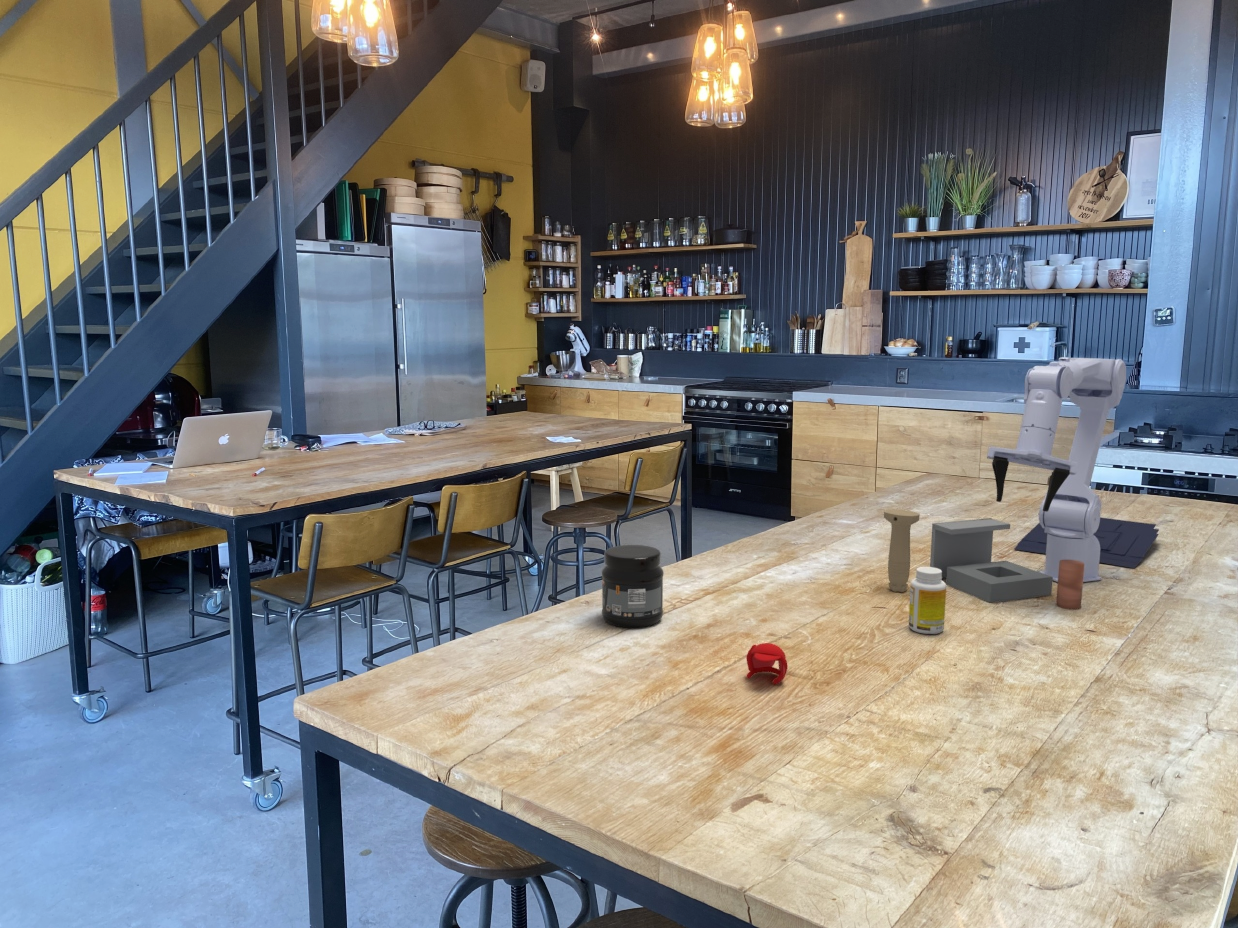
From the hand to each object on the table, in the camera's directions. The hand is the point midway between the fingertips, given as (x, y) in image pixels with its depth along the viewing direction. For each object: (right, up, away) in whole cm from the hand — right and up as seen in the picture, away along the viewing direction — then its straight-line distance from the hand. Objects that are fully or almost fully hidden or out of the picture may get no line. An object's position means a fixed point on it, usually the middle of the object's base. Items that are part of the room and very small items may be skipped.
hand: (1022, 505), depth 160 cm
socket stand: (0, -16, +15) cm, 22 cm away
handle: (-18, -17, +13) cm, 28 cm away
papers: (+35, -12, +45) cm, 59 cm away
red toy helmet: (-50, -24, -30) cm, 62 cm away
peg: (+10, -18, +3) cm, 21 cm away
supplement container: (-68, -19, -4) cm, 71 cm away
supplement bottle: (-20, -20, -9) cm, 30 cm away
